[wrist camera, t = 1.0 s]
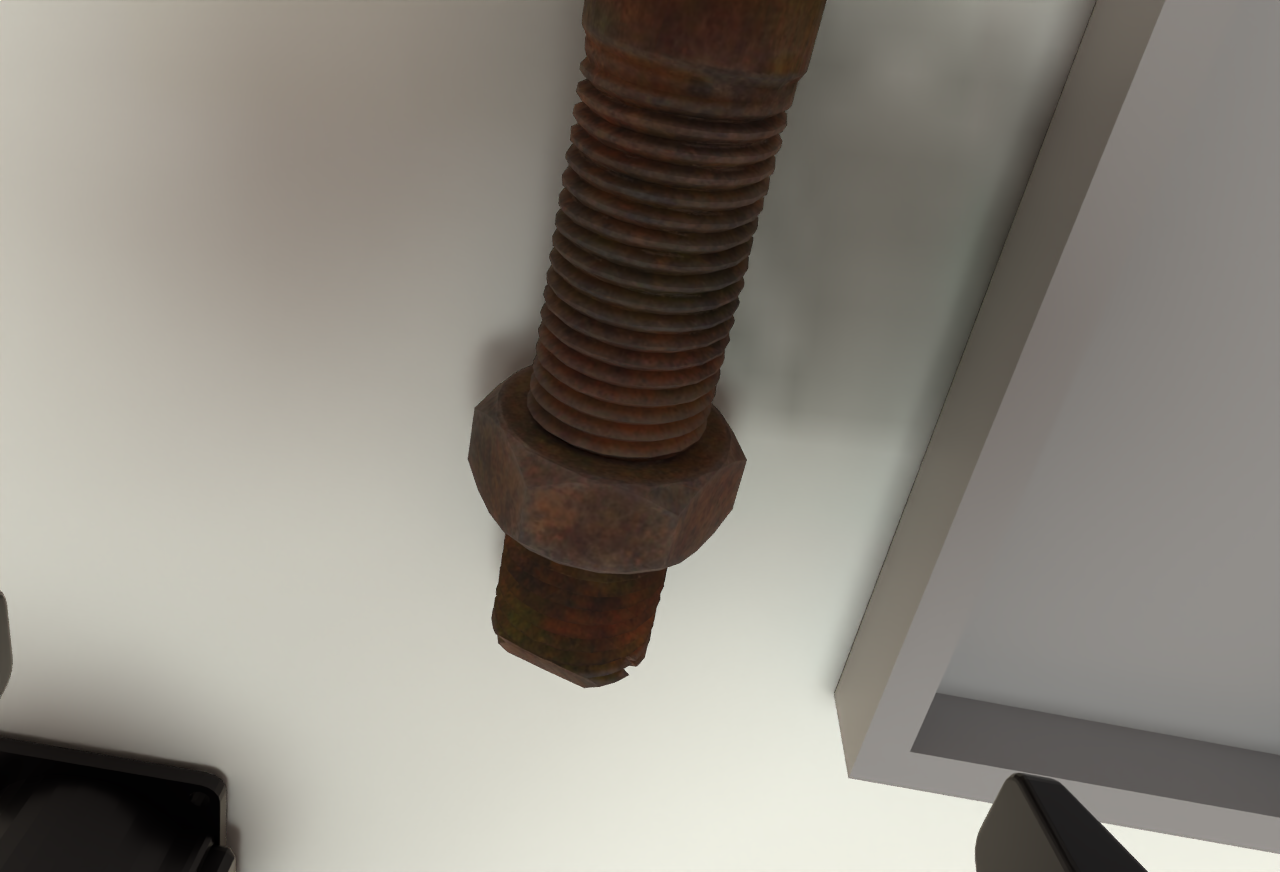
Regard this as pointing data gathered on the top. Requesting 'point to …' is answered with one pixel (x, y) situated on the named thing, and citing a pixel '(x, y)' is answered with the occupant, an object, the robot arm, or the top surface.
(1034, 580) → the parts tray
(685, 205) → the bolt
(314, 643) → the top surface
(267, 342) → the top surface
